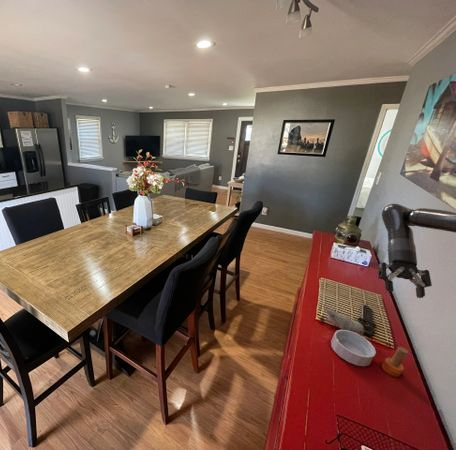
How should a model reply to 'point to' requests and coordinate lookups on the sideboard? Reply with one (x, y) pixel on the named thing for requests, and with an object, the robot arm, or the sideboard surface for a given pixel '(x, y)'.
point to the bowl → (353, 347)
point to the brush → (395, 362)
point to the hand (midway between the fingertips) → (405, 294)
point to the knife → (363, 319)
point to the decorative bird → (343, 322)
